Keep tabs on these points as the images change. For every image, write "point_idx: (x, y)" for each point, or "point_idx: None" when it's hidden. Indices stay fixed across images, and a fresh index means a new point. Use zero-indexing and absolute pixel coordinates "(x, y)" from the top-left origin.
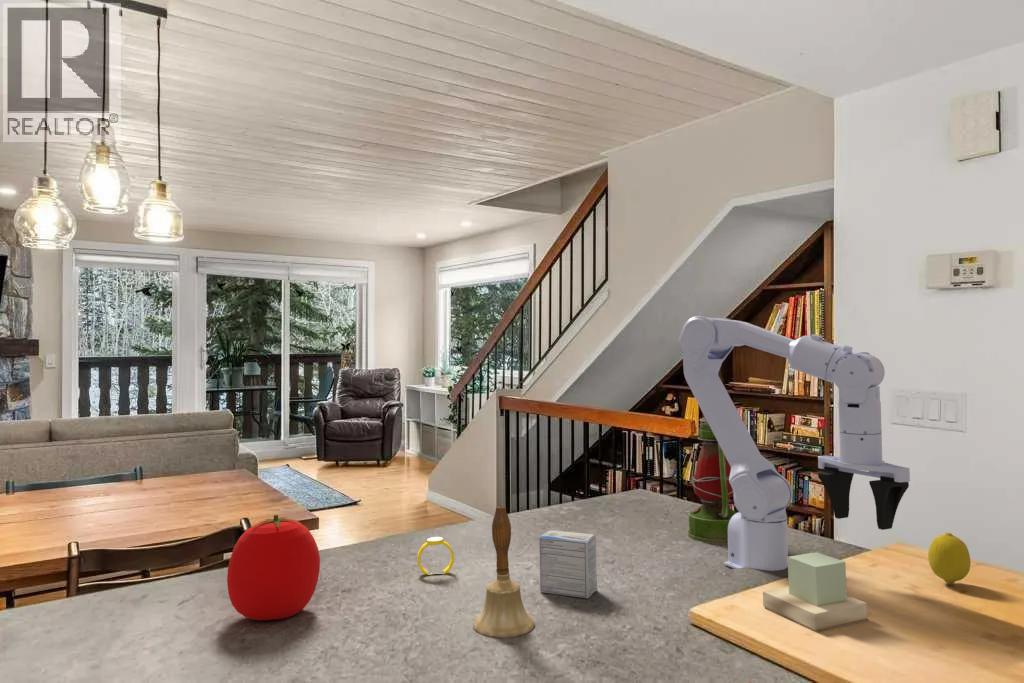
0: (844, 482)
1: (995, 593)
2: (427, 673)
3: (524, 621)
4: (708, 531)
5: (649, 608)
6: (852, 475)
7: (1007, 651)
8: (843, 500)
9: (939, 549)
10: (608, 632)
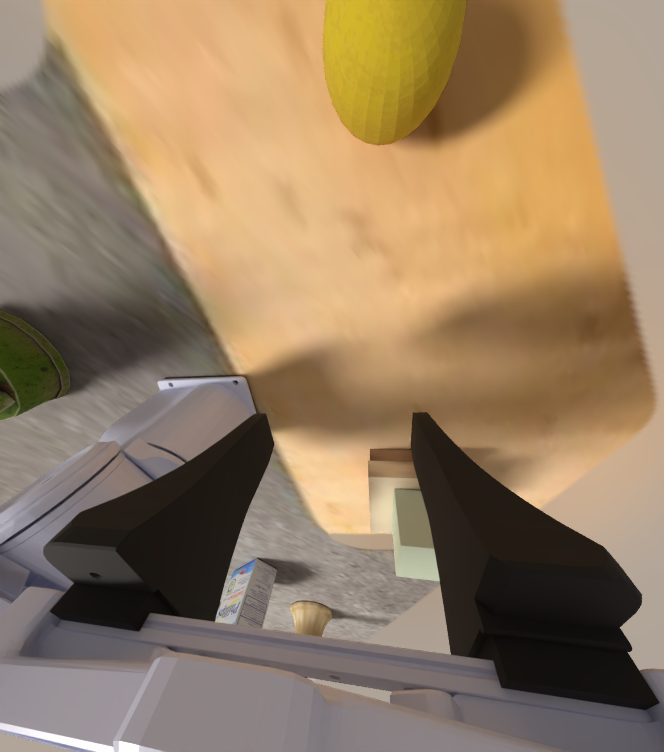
0: (199, 529)
1: (495, 13)
2: (363, 642)
3: (323, 616)
4: (43, 399)
5: (311, 551)
6: (150, 526)
7: (633, 359)
8: (242, 465)
9: (398, 113)
10: (347, 585)
